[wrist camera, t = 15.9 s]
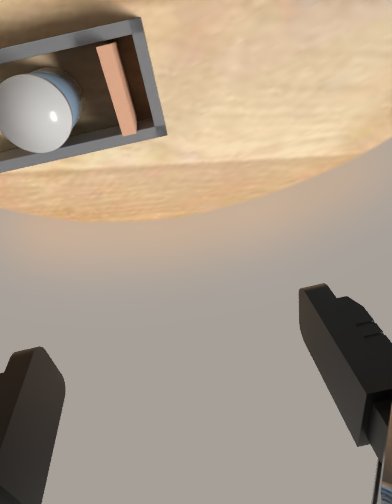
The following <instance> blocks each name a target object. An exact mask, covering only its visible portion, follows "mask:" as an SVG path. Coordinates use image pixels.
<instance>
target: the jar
mask: <svg viewBox="0 0 392 504" xmlns="http://www.w3.org/2000/svg"><path fill="white" fill-rule="evenodd" d="M83 110H84V96H83V93H82V90H81V88H80V86H79V85H78V83H77V82H76V81H75V79H74V78H73V77H72V76H70V75H69V74H68V73H66V72H65V71H63V70H60V69H57V68H53V67H45V68H41V69H38V70H35V71H32V72H30V73H27V74H19V75H15V76H12V77H10V78H8V79H6V80H4V81H3V82H2V83H1V84H0V131H1V132H2V133H3V134H4V136H5V137H6V138H7V139H8V140H9V141H11V142H12V143H13V144H15V145H16V146H18V147H20V148H22V149H24V150H27V151H30V152H35V153H46V152H50V151H53V150H55V149H57V148H59V147H60V146H61V145H63V144H64V142H65V141H66V140H67V138H68V137H69V135H70V133H71V130H72V128H73V127H74V126H75V124H76V123H77V121H78V120H79V119H80V117H81V116H82V113H83Z"/></svg>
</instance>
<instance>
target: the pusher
mask: <svg viewBox="0 0 392 504" xmlns="http://www.w3.org/2000/svg"><path fill="white" fill-rule="evenodd" d="M96 49H97V53H98V56H99V59H100V62H101V66H102V69H103V72H104V76H105V79H106V82H107V86H108V89H109V92H110V95H111V99H112V102H113V105H114V109H115V112H116V115H117V118H118V122H119V125H120V128H121V132H122V135H123V136H127V135H132V134H136V130H137V115H136V111H135V108H134V104H133V100H132V97H131V93H130V89H129V85H128V82H127V78H126V74H125V71H124V67H123V63H122V60H121V56H120V52H119V49H118V45H117V41H116V42H112V43H107V44H103V45H101V46H98V47H96Z"/></svg>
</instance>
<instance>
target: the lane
mask: <svg viewBox="0 0 392 504" xmlns="http://www.w3.org/2000/svg"><path fill="white" fill-rule="evenodd" d="M131 34H132V37H133V41H134V45H135V49H136V53H137V57H138V61H139V65H140V69H141V73H142V77H143V81H144V85H145V89H146V93H147V97H148V101H149V106H150V110H151V114H152V118H150V119H146V120H141V121H137V130H136V134H132V135H127V136H123V135H122V132H121V128H120V125H119V126H115V127H110V128H106V129H101V130H97V131H92V132H88V133H84V134H79V135H75V136H70V137H68V138H67V140H66V141H65V142H64V144H63V145H61V146H60V147H59V148H57V149H55V150H53V151H50V152H46V153H35V152H30V151H27V150H24V149H22V148H17V149H13V150H8V151H4V152H0V173H2V172H6V171H11V170H15V169H19V168H24V167H28V166H33V165H37V164H42V163H46V162H50V161H55V160H59V159H64V158H68V157H73V156H77V155H81V154H86V153H90V152H95V151H99V150H104V149H108V148H113V147H117V146H121V145H126V144H130V143H135V142H139V141H144V140H148V139H152V138H157V137H161V136H166V135H167V130H166V125H165V121H164V117H163V112H162V108H161V103H160V99H159V95H158V90H157V86H156V82H155V77H154V73H153V68H152V64H151V60H150V55H149V51H148V47H147V42H146V38H145V34H144V29H143V25H142V20H141V17H138V18H134V19H129V20H125V21H121V22H116V23H112V24H107V25H103V26H98V27H94V28H90V29H85V30H81V31H76V32H72V33H67V34H63V35H58V36H54V37H50V38H45V39H41V40H36V41H32V42H27V43H23V44H19V45H14V46H10V47H5V48H1V49H0V64H2V63H7V62H11V61H15V60H20V59H24V58H29V57H33V56H38V55H42V54H47V53H51V52H55V51H60V50H64V49H69V48H73V47H78V46H82V45H86V44H91V43H95V42H100V41H104V40H109V39H113V38H117V37H122V36H126V35H131Z"/></svg>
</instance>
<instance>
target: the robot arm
mask: <svg viewBox="0 0 392 504" xmlns="http://www.w3.org/2000/svg"><path fill="white" fill-rule="evenodd" d="M299 324H300V330H301V334H302V337H303V339H304V342H305V344H306V346H307V348H308V350H309V352H310V354H311V356H312V358H313V360H314V362H315V364H316V366H317V368H318V370H319V372H320V374H321V375H322V378H323V380H324V382H325V383H326V386H327V388H328V390H329V392H330V393H331V395H332V397H333V399H334V401H335V403H336V405H337V407H338V409H339V411H340V413H341V415H342V417H343V419H344V421H345V423H346V425H347V427H348V429H349V431H350V433H351V435H352V437H353V439H354V441H355V443H356V445H357V447H359V446H364V445H368V444H371V446H372V448H373V450H374V451H375V453H376V455H377V457H378V460H377V467H376V474H375V481H374V488H373V495H372V501H371V504H392V343H391V342H390V340H389V339H388V338H387V336H386V335H384V334H383V331H382V330H381V329H380V328H379V326H378V325H377V324H376V323H374V320H373V319H372V317H371V316H370V315H369V314H368V312H367V311H366V310H365V308H364V307H363V306H362V305H360V304H358V303H357V302H355V301H354V300H352V299H351V298H349V297H347V296H346V297H341V298H336V297H335V295H334V294H333V292H332V291H331V290H330V288H329V287H328V286H327V285H326V284H325V283H323V284H319V285H314V286H310V287H305V288H301V289H300V290H299ZM64 398H65V382H64V379H63V376H62V374H61V373H60V371H59V370H58V369H57V367H56V365H55V364H54V363H53V361H52V359H51V358H50V357H49V355H48V353H47V352H46V350H45V349H44V348H43V347H35V348H31V349H27V350H22V351H18V352H15V353H13V354H12V356H11V357H10V360H9V362H8V365H7V367H6V369H5V372H4V373H0V504H41V503H42V498H43V494H44V489H45V485H46V480H47V476H48V471H49V466H50V462H51V457H52V453H53V448H54V444H55V439H56V435H57V430H58V425H59V420H60V416H61V412H62V407H63V402H64Z"/></svg>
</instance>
